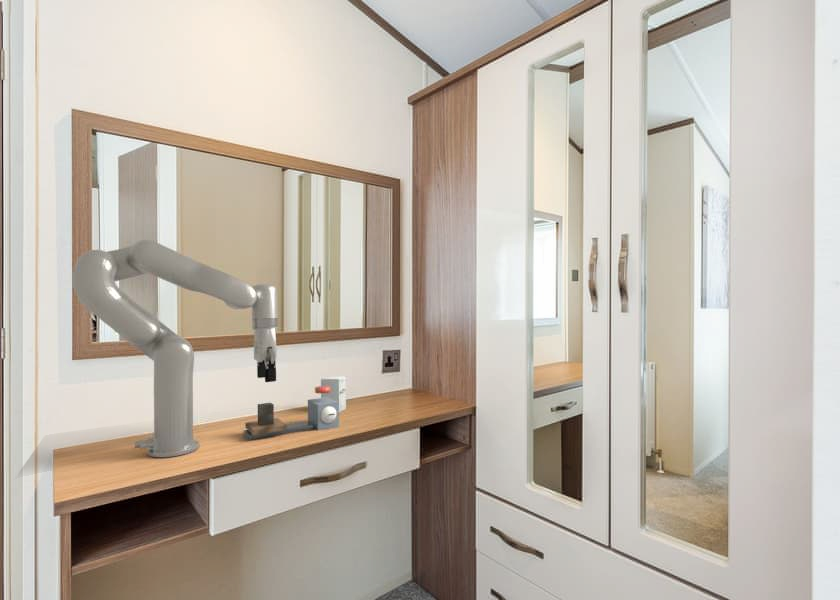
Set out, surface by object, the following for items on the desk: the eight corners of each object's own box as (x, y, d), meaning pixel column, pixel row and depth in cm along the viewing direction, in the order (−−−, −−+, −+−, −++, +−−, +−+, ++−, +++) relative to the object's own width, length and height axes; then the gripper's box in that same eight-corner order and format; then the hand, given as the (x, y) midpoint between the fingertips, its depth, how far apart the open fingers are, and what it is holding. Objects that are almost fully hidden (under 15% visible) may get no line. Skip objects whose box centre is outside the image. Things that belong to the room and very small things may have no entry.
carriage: (252, 435, 131) (252, 409, 132) (245, 427, 140) (245, 403, 140) (286, 429, 137) (286, 405, 137) (277, 422, 145) (277, 399, 145)
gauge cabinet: (318, 430, 142) (318, 405, 142) (307, 423, 151) (307, 399, 151) (339, 427, 146) (339, 402, 146) (327, 420, 154) (327, 397, 154)
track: (247, 440, 133) (247, 435, 133) (243, 435, 138) (243, 430, 138) (313, 429, 143) (313, 424, 143) (306, 425, 148) (306, 420, 148)
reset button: (318, 394, 145) (318, 389, 145) (312, 391, 149) (312, 387, 149) (332, 392, 148) (332, 387, 148) (327, 389, 152) (327, 385, 152)
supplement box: (339, 413, 164) (339, 379, 164) (320, 412, 165) (320, 378, 166) (346, 408, 171) (346, 375, 171) (328, 408, 173) (328, 375, 173)
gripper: (246, 324, 144) (247, 377, 144) (259, 326, 129) (260, 385, 129) (270, 323, 148) (271, 374, 148) (285, 324, 133) (286, 381, 133)
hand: (266, 379), depth 139 cm, fingers open, 9 cm apart
